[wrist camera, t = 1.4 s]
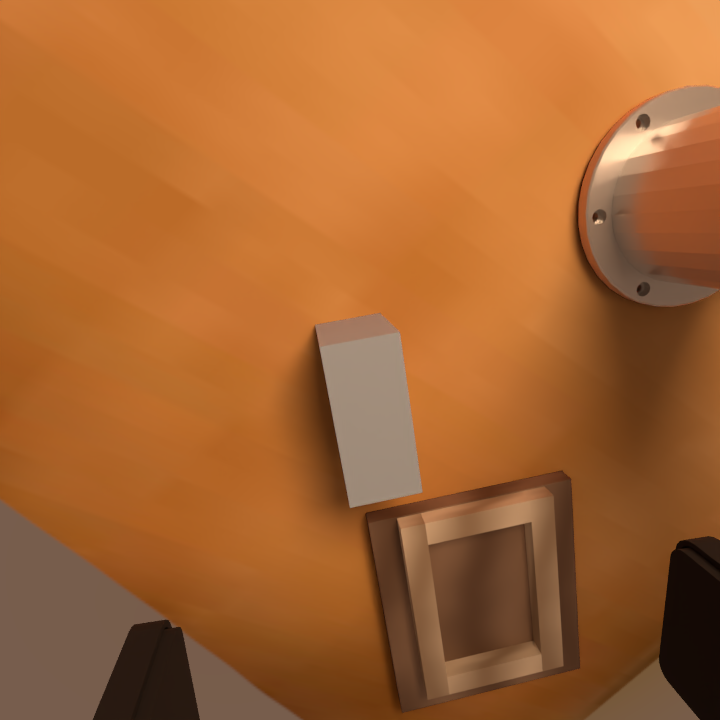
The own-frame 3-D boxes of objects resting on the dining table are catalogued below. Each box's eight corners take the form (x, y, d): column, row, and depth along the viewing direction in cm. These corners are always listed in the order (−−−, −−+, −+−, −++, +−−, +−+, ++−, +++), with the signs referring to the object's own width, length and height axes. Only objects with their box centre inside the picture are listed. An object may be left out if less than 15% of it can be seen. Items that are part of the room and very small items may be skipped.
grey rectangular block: (379, 312, 30) (399, 332, 24) (400, 449, 32) (423, 497, 26) (315, 324, 29) (319, 347, 24) (341, 462, 32) (351, 512, 26)
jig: (561, 470, 34) (581, 488, 32) (571, 655, 38) (589, 682, 36) (365, 512, 33) (370, 534, 31) (399, 697, 37) (405, 728, 35)
